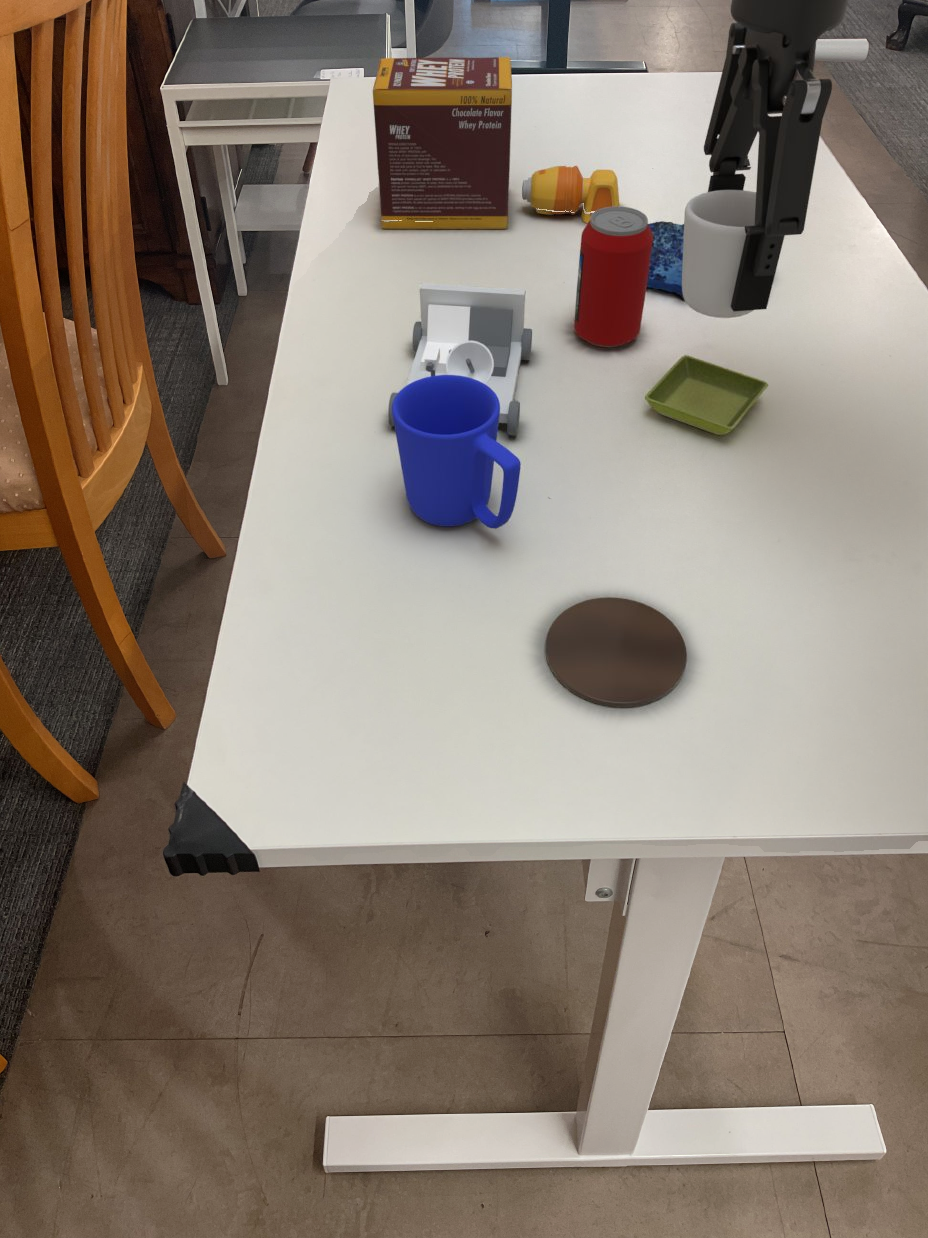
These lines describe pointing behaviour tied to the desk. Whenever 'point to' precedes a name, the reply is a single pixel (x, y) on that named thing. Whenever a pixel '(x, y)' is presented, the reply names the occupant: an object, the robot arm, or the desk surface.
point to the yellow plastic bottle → (571, 190)
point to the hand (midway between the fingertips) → (730, 279)
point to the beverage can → (612, 276)
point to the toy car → (472, 340)
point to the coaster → (616, 652)
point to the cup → (715, 249)
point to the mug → (453, 451)
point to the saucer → (705, 395)
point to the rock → (666, 257)
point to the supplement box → (443, 142)
